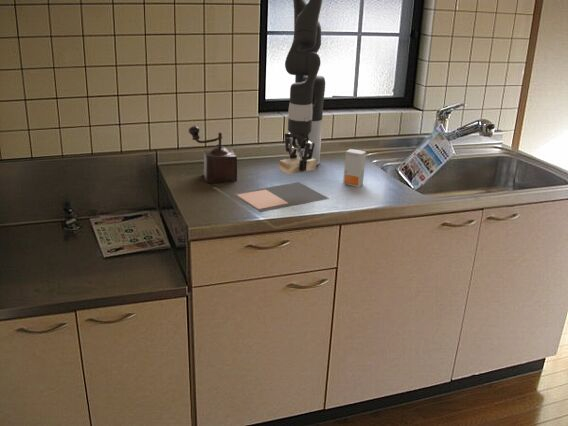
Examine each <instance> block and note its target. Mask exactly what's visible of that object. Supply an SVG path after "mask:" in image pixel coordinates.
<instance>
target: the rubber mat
mask: <svg viewBox="0 0 568 426" xmlns="http://www.w3.org/2000/svg"><path fill="white" fill-rule="evenodd" d="M232 195H233V196H234V197H237V198H238V199H239V200H241V201H242V202H244V203H246V204H247V205H248V206H250V207H252V208H253V209H255V210H257V211H258V212H259V213H264V212H268V211H269V212H270V211H274V210H279V209H284V208H289V207H294V206H298V205H304V204H310V203H315V202H318V201H324V200H329V199H330V198H329V197H328V196H326V195H324V194H322V193H320V192H318V191H316V190H315V189H312V188H311V187H309V186H307V185H305V184H303V183H301V182H299V181H297V182H291V183H286V184H279V185H274V186H269V187H267V186H266V187H262V188H256V189H251V190H244V191H239V192H233V193H232Z"/></svg>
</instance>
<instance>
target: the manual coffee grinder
mask: <svg viewBox="0 0 568 426" xmlns="http://www.w3.org/2000/svg"><path fill="white" fill-rule="evenodd" d="M188 133H189V134H190V135H191V136H192V139H191V140H192V141H195V142H196V143H198V144H207V143H212V142H217V141H218V143H217V145H216V146H214V147H213V148H210V149H209V148H208V149H207V148H206V149H203V178H204V180H205V182H206V183H207V184H208V185H209V184H210V185H212V184H214V185H215V184H223V183H229V182H237V181H238V157H237V155H236V153H235V151H234V149H233V148H227V147H225V146H222V140H223V136H222V135H223V133H222V132H218V133H217V134H218V136H217V137H216V138H212V139H206V140H200V139H201V136H200V135H199V133H200V127H199V126H197V125H192V126H190V127H189V128H188Z"/></svg>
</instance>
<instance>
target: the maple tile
mask: <svg viewBox="0 0 568 426" xmlns="http://www.w3.org/2000/svg"><path fill="white" fill-rule="evenodd" d="M278 163H279V166H278V167H279V168H278V170H279V171H280V172H283V173H284V174H286V175H292V174H298V173H303V172H309V171H313V170H317V165H316V159H314V158H312V159H309V160H307V165H306V171H302V172H301V171H299V166H300V157H297V158H291V159H290V158H286V159H280V160H279V162H278Z"/></svg>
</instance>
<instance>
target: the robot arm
mask: <svg viewBox="0 0 568 426" xmlns="http://www.w3.org/2000/svg"><path fill="white" fill-rule="evenodd" d="M292 1H293V14H294V15H293V21H294V22H293V23H294V24H293V26H294V27H293V39H292V40H293V41H292V44H291V46H290V48H289V51H288V53H287V55H286V58H285V61H284V62H285V63H284V68H285V71H286V72H287V73H288V74H289V75H292V76H294V78H295V79H294V83H291V85H290V89H289V105H288V115H287V132H286V133H284V145H285V152H286V153H287V152H288V155H289V159H291V158H297V157H300V166H299V171H301V172H300V173H303V172H302V171H304V172H307V171H306V165H307V160H309V159H312V158H314V159H316V166H317V165H319V164H320V161H321V159H320V158H321V147H322V146H321V144H322V132H323V131H322V130H323V129H322V128H323V111H324V101H325V92H326V79H325V77H324V76H323V75H318V73H319V70H320V68H321V57H320V55H319V54H318V53H319V51H320V48H321V45H322V26H321V23H320V22H319V18H320V12H321V10H322V4H323V0H309V1H308V2H307V0H292ZM313 102H314V103H313Z"/></svg>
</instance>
